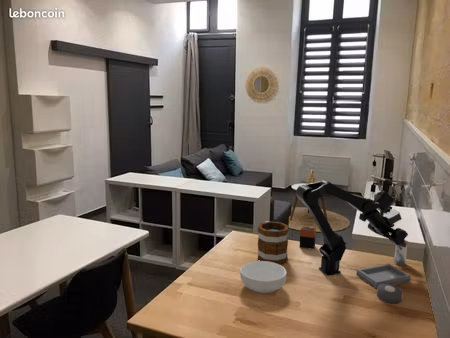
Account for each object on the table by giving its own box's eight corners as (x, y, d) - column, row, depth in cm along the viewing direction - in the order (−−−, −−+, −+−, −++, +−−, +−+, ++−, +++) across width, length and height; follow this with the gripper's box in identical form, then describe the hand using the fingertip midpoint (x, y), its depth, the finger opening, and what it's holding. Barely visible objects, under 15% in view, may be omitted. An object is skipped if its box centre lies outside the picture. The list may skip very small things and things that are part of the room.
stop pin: (399, 266, 154) (401, 243, 152) (391, 261, 158) (393, 239, 156) (407, 264, 156) (410, 242, 154) (399, 260, 160) (402, 238, 158)
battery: (314, 249, 171) (315, 229, 170) (299, 247, 174) (300, 227, 172) (315, 246, 175) (316, 225, 174) (300, 244, 178) (301, 224, 176)
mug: (292, 265, 155) (293, 231, 152) (260, 267, 154) (261, 232, 151) (279, 246, 174) (280, 216, 172) (251, 248, 173) (252, 217, 170)
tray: (376, 288, 136) (376, 282, 136) (356, 275, 146) (356, 269, 146) (410, 281, 141) (410, 275, 141) (388, 269, 151) (389, 263, 151)
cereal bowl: (291, 282, 141) (291, 265, 140) (278, 304, 126) (279, 285, 125) (249, 273, 148) (249, 257, 147) (233, 293, 133) (233, 275, 132)
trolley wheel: (388, 305, 125) (389, 295, 124) (371, 293, 132) (372, 284, 132) (406, 301, 128) (407, 291, 127) (389, 290, 135) (390, 280, 134)
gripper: (405, 211, 141) (427, 236, 146) (375, 198, 159) (395, 221, 164) (386, 232, 141) (408, 256, 146) (358, 217, 159) (379, 239, 164)
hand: (397, 242), depth 155 cm, fingers open, 9 cm apart
